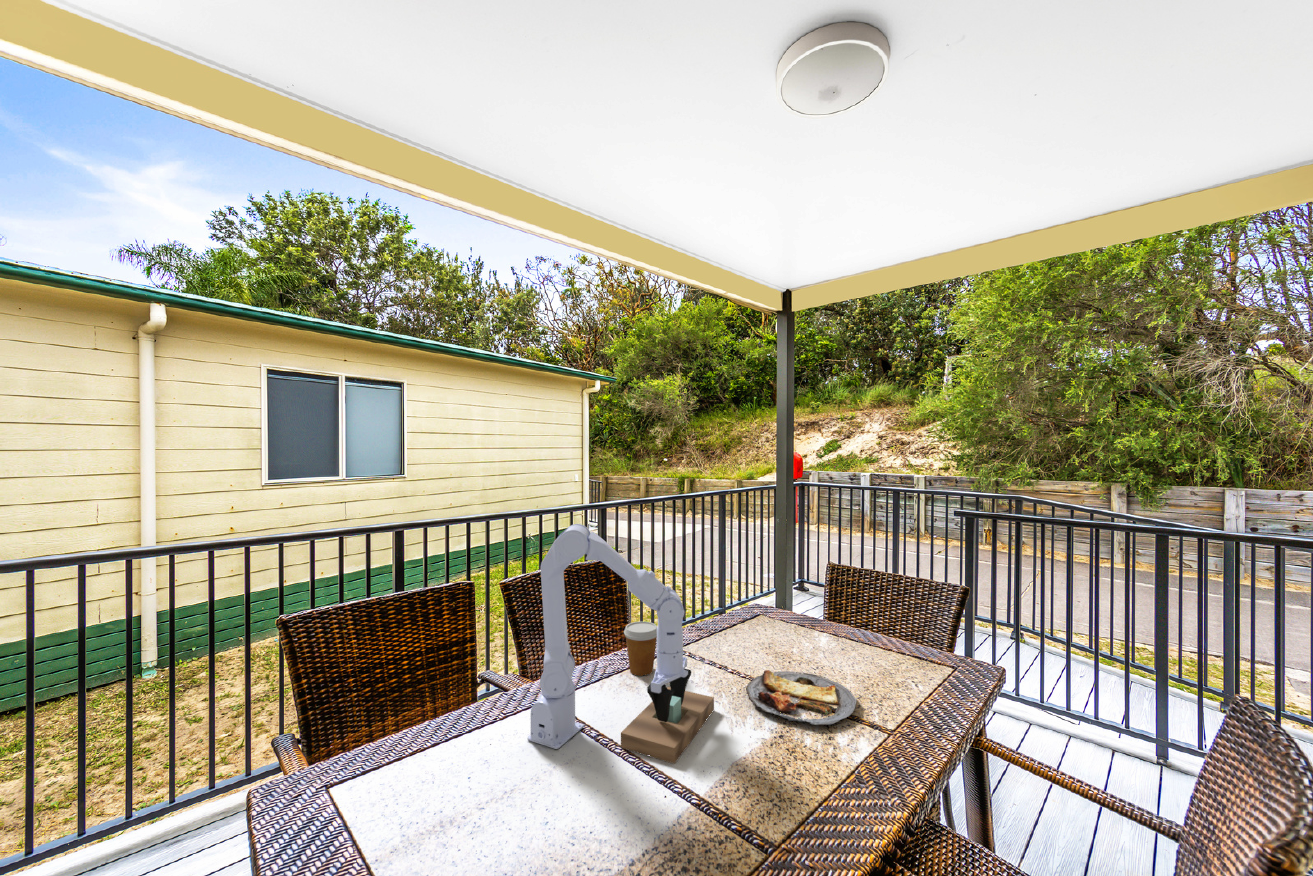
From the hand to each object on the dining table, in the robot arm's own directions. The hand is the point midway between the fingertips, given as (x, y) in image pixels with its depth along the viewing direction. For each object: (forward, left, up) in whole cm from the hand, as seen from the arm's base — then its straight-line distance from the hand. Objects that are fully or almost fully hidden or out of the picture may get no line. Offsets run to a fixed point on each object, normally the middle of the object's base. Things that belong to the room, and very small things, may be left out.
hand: (670, 712), depth 109 cm
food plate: (+24, -23, -4) cm, 33 cm away
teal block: (0, 0, -3) cm, 4 cm away
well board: (0, 0, -3) cm, 3 cm away
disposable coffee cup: (+22, +19, -4) cm, 29 cm away
